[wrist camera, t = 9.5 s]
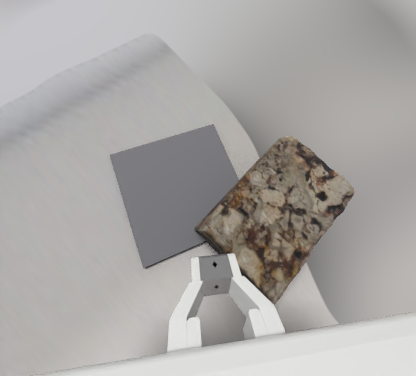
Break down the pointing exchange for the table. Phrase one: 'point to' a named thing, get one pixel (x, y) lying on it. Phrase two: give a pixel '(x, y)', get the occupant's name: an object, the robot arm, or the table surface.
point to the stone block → (277, 215)
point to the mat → (172, 189)
